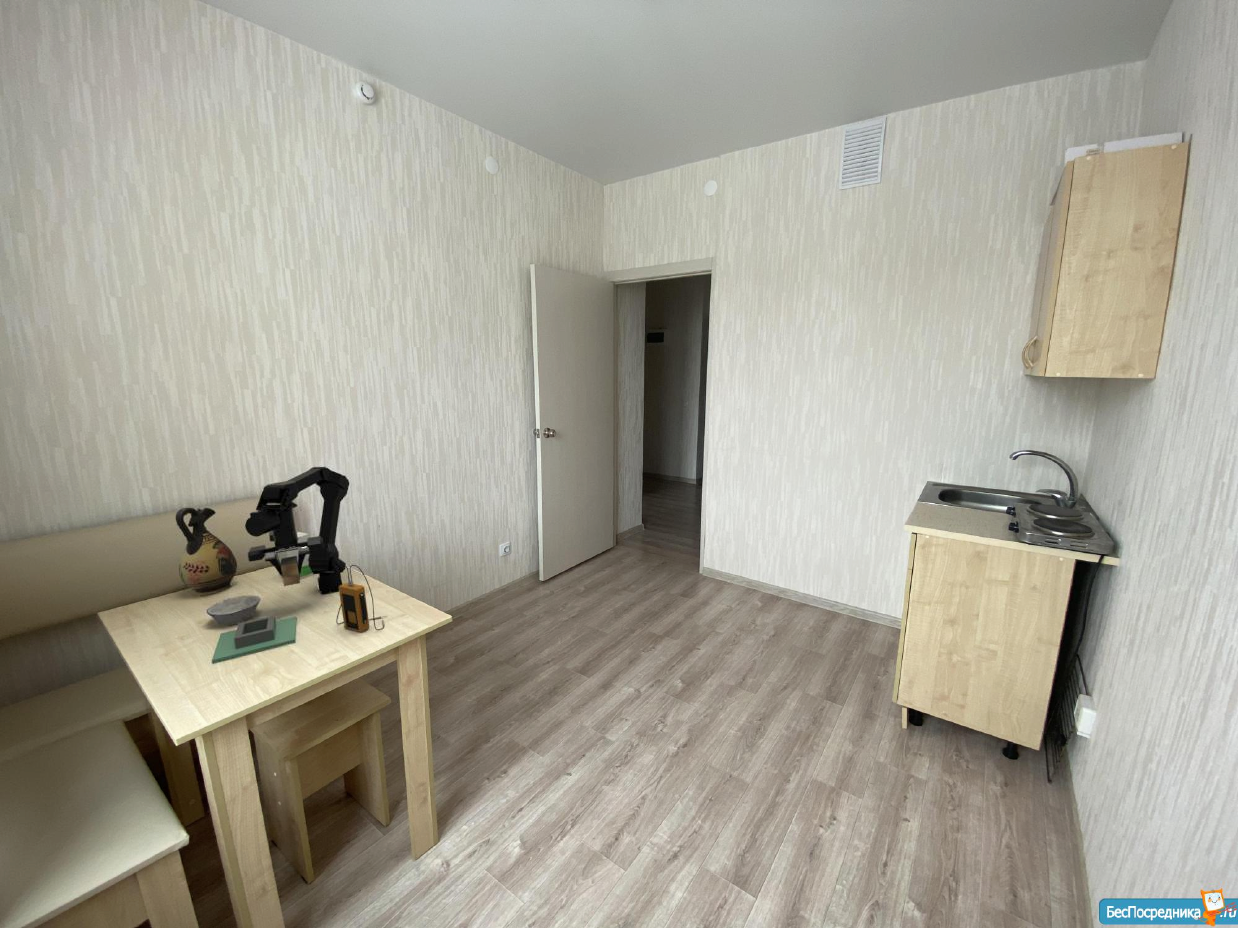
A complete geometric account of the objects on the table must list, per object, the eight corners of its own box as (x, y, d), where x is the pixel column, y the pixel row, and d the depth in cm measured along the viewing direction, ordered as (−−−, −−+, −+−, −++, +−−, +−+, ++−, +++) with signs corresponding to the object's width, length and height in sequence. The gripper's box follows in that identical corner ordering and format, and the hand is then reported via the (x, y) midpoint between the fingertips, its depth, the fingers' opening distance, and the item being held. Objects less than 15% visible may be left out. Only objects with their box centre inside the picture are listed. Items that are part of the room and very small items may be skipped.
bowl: (197, 627, 150) (194, 611, 149) (239, 607, 162) (236, 593, 161) (232, 631, 147) (230, 615, 146) (272, 610, 159) (269, 596, 158)
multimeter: (399, 619, 151) (391, 555, 147) (371, 635, 142) (361, 567, 138) (364, 610, 157) (356, 548, 153) (335, 626, 148) (325, 560, 144)
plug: (300, 577, 158) (296, 555, 157) (300, 583, 154) (296, 560, 153) (284, 580, 156) (281, 558, 155) (284, 586, 152) (280, 563, 151)
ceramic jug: (213, 579, 185) (197, 499, 179) (251, 580, 183) (236, 499, 177) (166, 601, 168) (147, 513, 163) (207, 602, 166) (189, 513, 160)
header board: (296, 618, 153) (294, 606, 152) (295, 642, 139) (293, 629, 139) (221, 636, 144) (218, 623, 143) (212, 663, 130) (209, 649, 130)
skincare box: (290, 582, 180) (283, 540, 177) (281, 579, 183) (274, 537, 180) (315, 574, 187) (309, 533, 184) (305, 570, 190) (299, 530, 187)
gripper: (319, 514, 163) (325, 560, 166) (247, 524, 154) (256, 573, 157) (319, 522, 154) (326, 571, 157) (243, 534, 145) (252, 586, 148)
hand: (291, 575), depth 155 cm, fingers closed on plug, 4 cm apart
